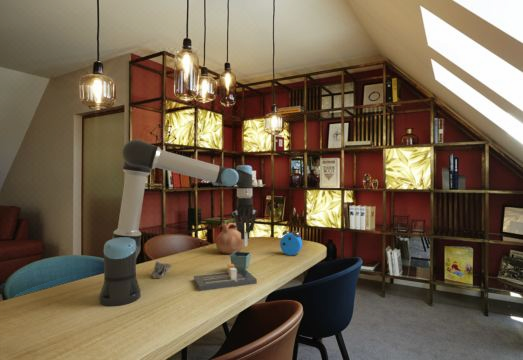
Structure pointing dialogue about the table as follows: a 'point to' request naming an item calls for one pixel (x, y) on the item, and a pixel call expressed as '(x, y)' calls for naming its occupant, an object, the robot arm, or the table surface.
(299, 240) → the alarm clock
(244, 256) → the flower pot
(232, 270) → the fader ivory
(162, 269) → the mineral specimen
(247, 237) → the robot arm
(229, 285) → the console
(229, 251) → the jug
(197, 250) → the table surface
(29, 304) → the table surface
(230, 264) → the fader orange
